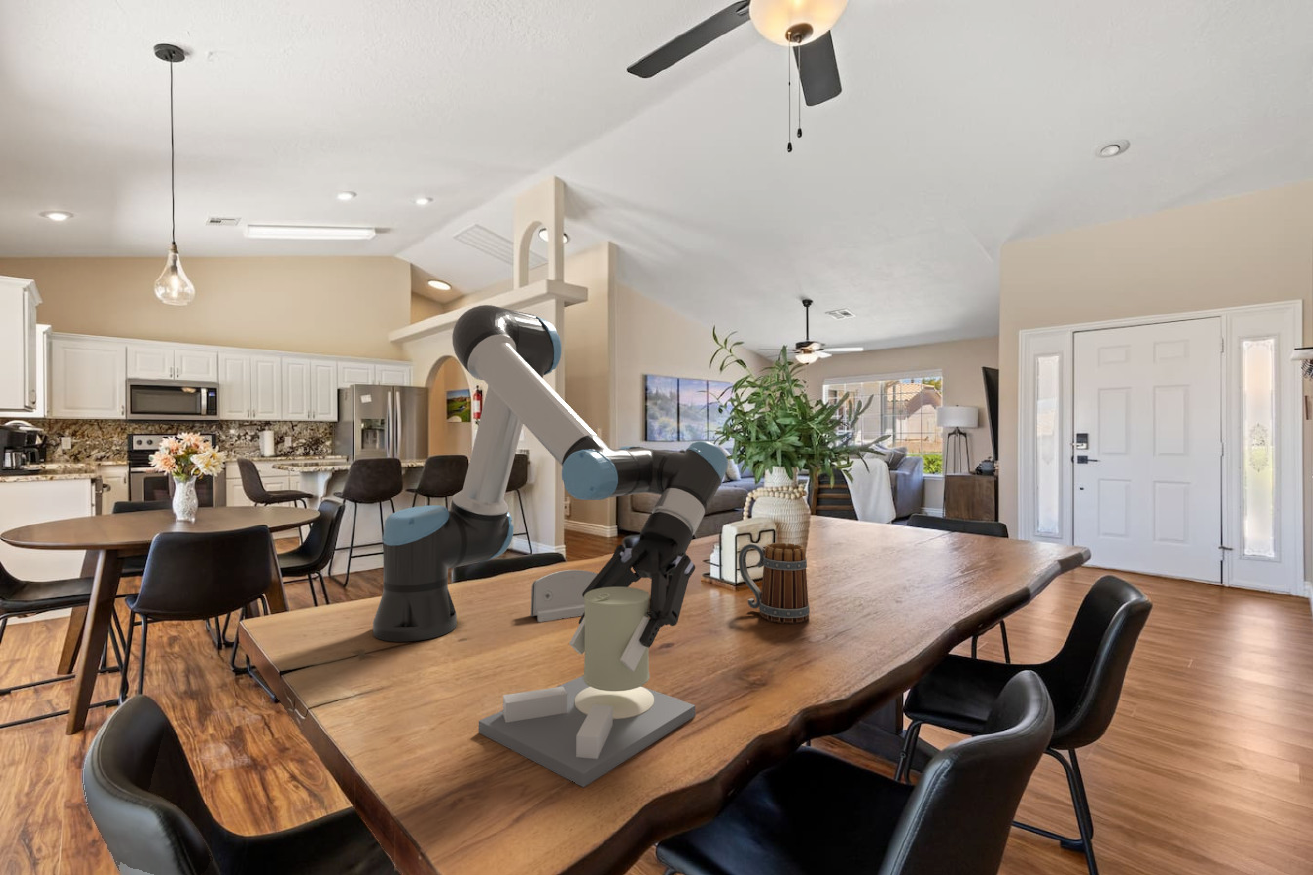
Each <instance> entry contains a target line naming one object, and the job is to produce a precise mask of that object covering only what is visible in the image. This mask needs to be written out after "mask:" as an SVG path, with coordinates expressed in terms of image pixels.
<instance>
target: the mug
mask: <svg viewBox="0 0 1313 875" xmlns="http://www.w3.org/2000/svg"><path fill="white" fill-rule="evenodd" d="M750 549H753V550H756V551H757V552H758V555H759V561H758V562H757V563H756V566H757V568H758V569H759V568H762V567H763V570H762V581H761V590H760V588H759V586H757V584H756V583H755V582H754V581H753V580H752V578H751V576H750V574H749V572H748V571H749V570H748V568H747V562H746V560H747V558H746V557H747V554H748V552H749V550H750ZM807 559H808V558H807V557H806V548H805V547H804V546H802V545H801V544H795V543H787V544H786V542H778V543H777V542H774V543H773V542H772V543H771V544H770V543H767V544H766V546H765V548H764V547H763V546H762V545H761V544H759V543H756V542H751V543H747V544H746V545H744V546H743V547H742V548H741V550H740V552H739V555H738V565H739V572H740V575H741V578H742V579H743V581H744V583H745V584H746V586H747V587H748V588H749V589H750V591H751V592H752V593H753V594H754V596H755V598H752V597H751V598H749V599H747V604H748V606H749V607H750V608H751V609H759V614H760V616H761V617H762V618H763V619H765V620H766V621H769V622H772V621H773V622H772V623H776V622H777V623H778V624H784V623H785V624H786V625H788V624H789V625H793V624H801V623H804V622H806V621H807V620H809V617H810V613H811V611H810V610H811V609H810V603H809V594H808V592H809V591H808V578H807V577H808V576H807V575H808V574H807V568H808V562H807V561H808V560H807ZM755 599H756V600H755ZM777 623H776V624H777Z"/></svg>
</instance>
